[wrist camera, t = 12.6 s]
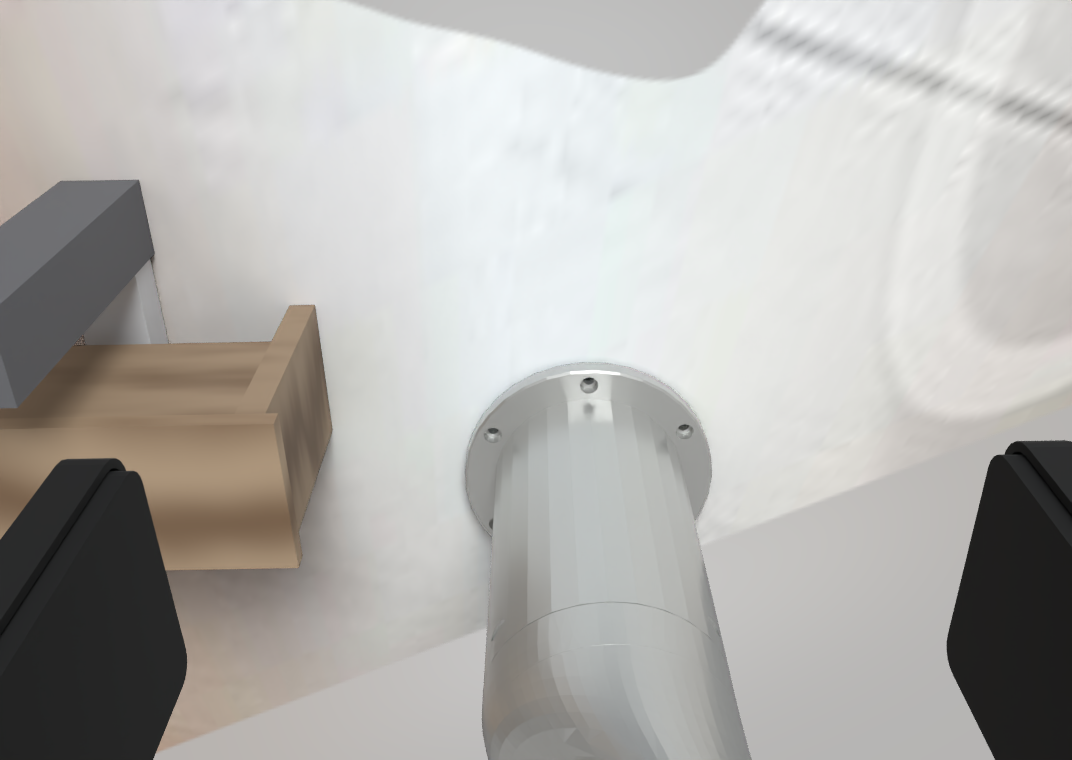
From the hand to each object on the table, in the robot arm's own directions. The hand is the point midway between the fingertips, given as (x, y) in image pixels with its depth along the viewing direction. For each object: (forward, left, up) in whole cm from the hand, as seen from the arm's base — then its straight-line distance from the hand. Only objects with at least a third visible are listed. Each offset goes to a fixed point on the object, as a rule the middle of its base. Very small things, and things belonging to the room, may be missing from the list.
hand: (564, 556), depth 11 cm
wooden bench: (-16, +23, -34) cm, 44 cm away
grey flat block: (-12, +20, -34) cm, 41 cm away
